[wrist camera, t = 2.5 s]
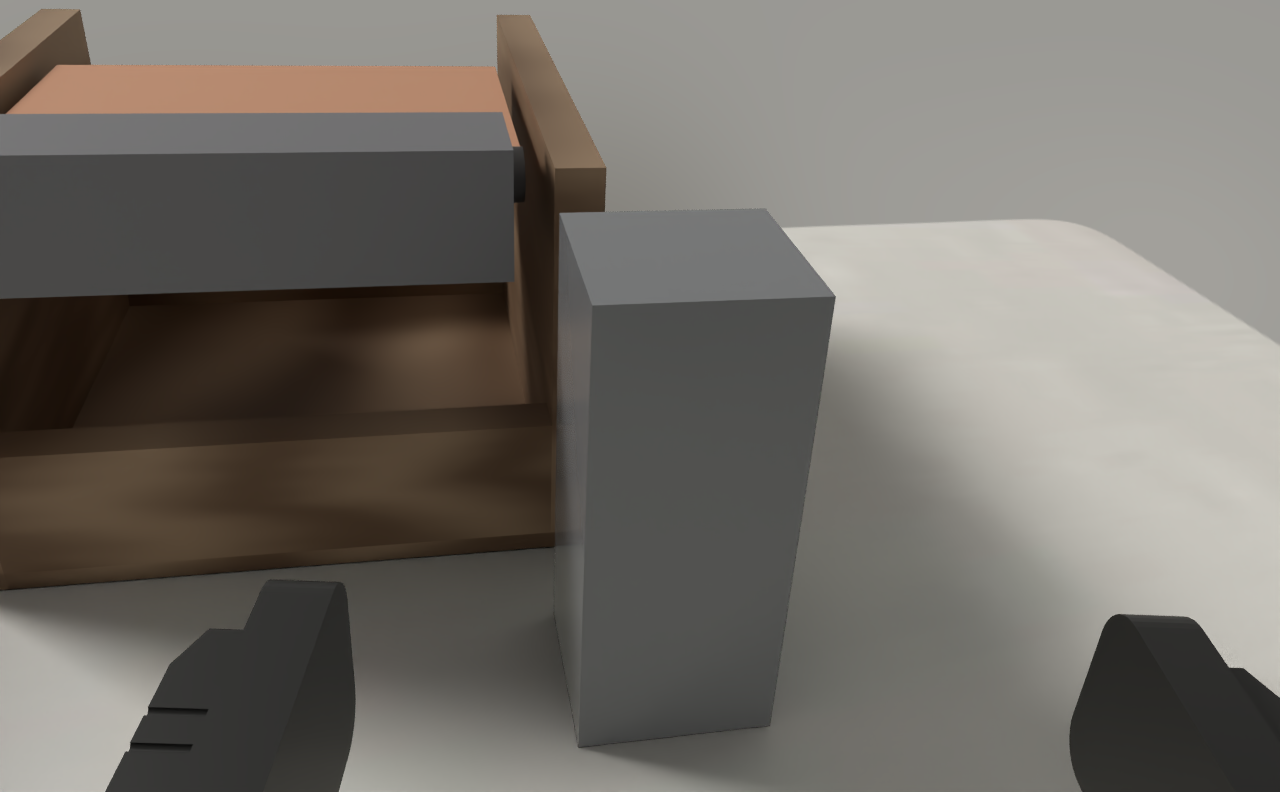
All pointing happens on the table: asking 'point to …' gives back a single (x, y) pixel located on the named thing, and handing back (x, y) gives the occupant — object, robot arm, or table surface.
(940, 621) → the table surface
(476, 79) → the trapdoor
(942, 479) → the table surface
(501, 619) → the table surface
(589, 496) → the basalt block
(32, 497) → the walnut frame
